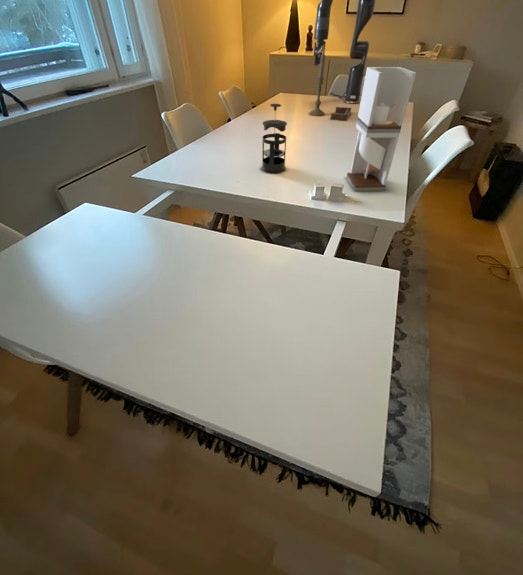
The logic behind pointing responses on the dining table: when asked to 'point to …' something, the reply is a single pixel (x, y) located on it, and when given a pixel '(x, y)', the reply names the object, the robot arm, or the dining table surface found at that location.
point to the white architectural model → (379, 125)
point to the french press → (274, 146)
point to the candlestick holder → (319, 89)
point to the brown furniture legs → (342, 116)
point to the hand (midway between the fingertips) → (318, 64)
